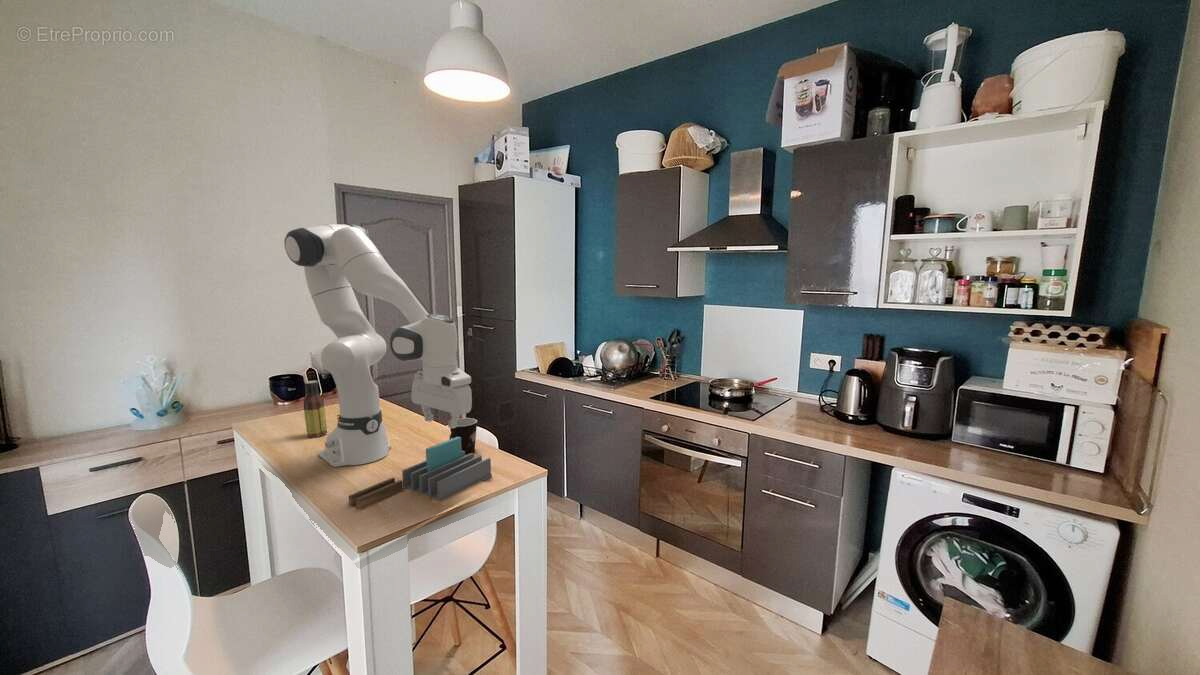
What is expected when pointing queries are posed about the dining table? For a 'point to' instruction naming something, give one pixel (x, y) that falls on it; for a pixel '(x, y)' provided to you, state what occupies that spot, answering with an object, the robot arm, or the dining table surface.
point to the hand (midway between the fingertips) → (440, 424)
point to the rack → (447, 476)
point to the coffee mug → (465, 434)
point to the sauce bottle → (314, 410)
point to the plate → (443, 453)
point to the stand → (375, 493)
